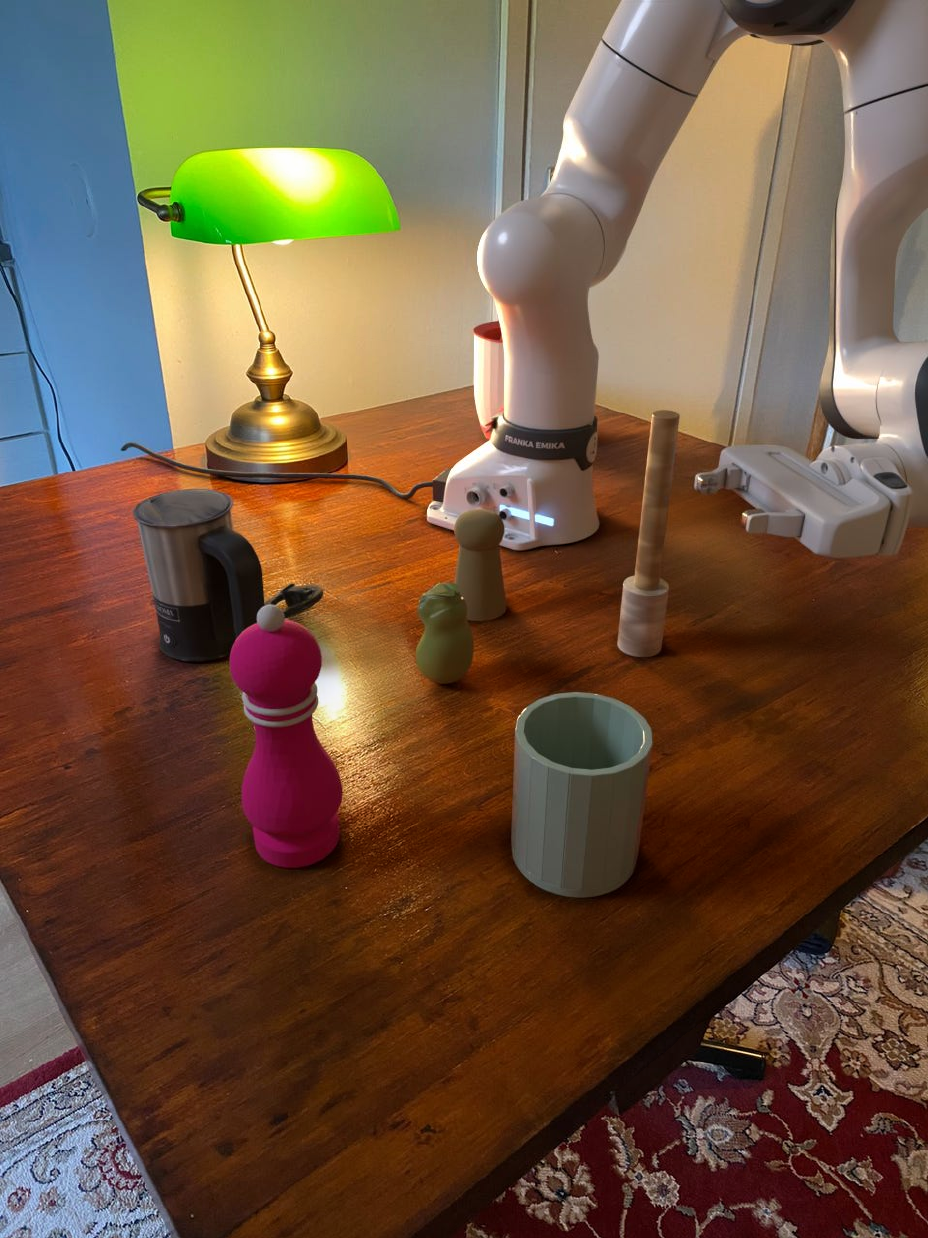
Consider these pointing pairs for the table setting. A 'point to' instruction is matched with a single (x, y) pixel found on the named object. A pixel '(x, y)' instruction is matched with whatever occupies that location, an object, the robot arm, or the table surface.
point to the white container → (488, 372)
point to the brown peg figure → (480, 564)
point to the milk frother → (205, 574)
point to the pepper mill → (285, 743)
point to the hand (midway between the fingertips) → (720, 502)
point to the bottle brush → (650, 547)
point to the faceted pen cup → (579, 792)
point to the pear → (444, 635)
